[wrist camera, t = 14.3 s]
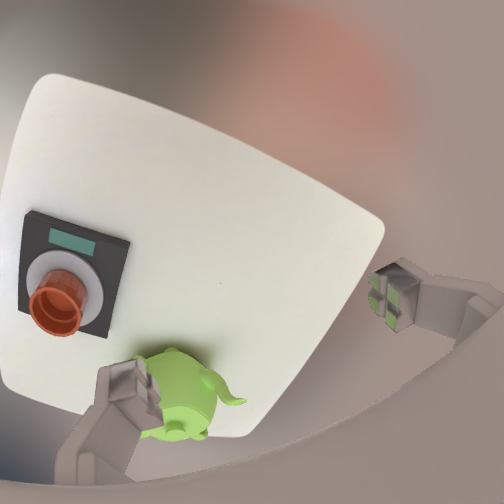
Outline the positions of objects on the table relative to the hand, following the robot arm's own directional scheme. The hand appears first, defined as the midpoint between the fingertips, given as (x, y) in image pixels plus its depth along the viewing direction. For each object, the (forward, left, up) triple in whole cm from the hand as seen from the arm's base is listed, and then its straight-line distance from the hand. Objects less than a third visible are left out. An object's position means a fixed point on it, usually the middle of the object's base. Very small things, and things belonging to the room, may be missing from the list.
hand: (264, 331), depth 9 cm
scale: (+6, -19, -27) cm, 34 cm away
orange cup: (+7, -20, -24) cm, 32 cm away
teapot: (+27, -12, -27) cm, 40 cm away
